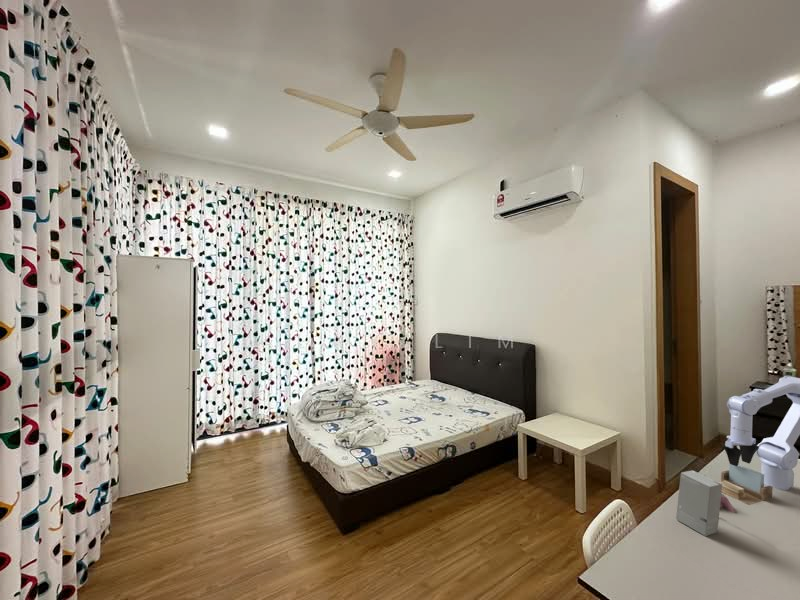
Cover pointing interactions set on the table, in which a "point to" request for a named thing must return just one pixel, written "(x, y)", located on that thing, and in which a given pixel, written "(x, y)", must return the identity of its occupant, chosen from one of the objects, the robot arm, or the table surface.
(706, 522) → the skincare box
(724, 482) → the offcut stack
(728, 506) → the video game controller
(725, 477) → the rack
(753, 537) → the table surface
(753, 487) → the tall sheet
